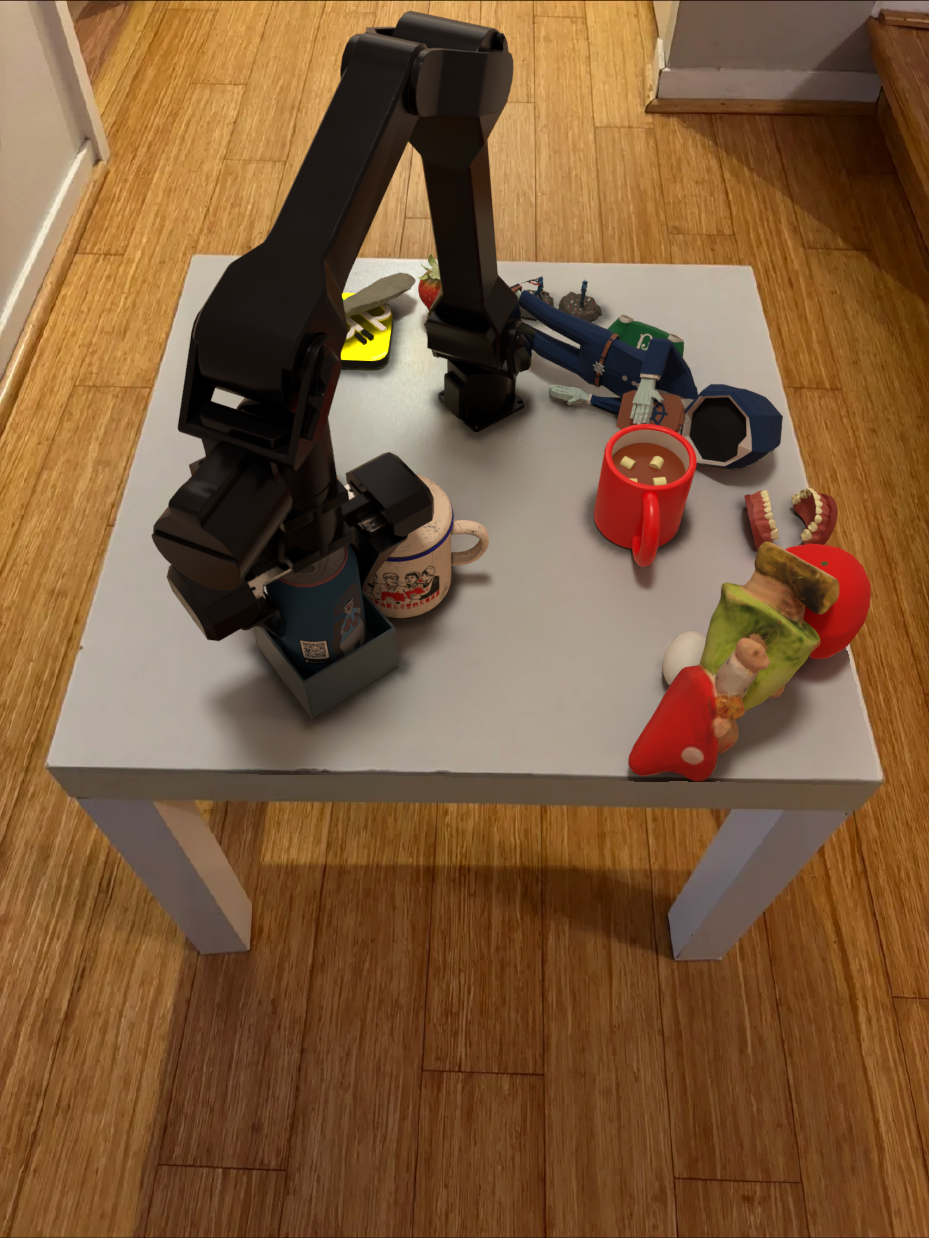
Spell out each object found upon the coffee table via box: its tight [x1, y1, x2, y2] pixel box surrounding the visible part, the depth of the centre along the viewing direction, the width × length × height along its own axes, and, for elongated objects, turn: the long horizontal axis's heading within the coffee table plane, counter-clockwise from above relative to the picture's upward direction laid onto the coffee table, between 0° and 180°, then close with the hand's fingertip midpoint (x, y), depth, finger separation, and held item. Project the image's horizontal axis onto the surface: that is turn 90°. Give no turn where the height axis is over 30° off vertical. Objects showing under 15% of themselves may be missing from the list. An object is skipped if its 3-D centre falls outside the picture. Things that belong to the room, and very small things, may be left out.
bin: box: [252, 591, 399, 720], centre depth 79 cm, size 8×8×6 cm
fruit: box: [417, 253, 441, 312], centre depth 102 cm, size 5×5×8 cm
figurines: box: [520, 275, 603, 322], centre depth 105 cm, size 10×5×4 cm, turn 85°
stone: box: [343, 272, 417, 317], centre depth 103 cm, size 13×2×5 cm
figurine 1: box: [509, 283, 784, 470], centre depth 93 cm, size 12×12×30 cm
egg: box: [662, 631, 706, 686], centre depth 79 cm, size 4×6×4 cm, turn 157°
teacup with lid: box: [363, 473, 490, 619], centre depth 81 cm, size 12×9×12 cm
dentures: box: [743, 487, 839, 552], centre depth 88 cm, size 6×4×8 cm
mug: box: [593, 424, 698, 568], centre depth 85 cm, size 8×12×8 cm, turn 179°
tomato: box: [785, 544, 872, 660], centre depth 80 cm, size 9×10×8 cm
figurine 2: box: [627, 541, 839, 782], centre depth 73 cm, size 11×9×20 cm
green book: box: [607, 313, 685, 358], centre depth 100 cm, size 9×4×6 cm
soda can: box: [264, 544, 367, 673], centre depth 75 cm, size 7×7×12 cm
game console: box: [341, 292, 394, 370], centre depth 104 cm, size 18×11×2 cm, turn 89°
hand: (319, 609), depth 76 cm, fingers closed on soda can, 7 cm apart
